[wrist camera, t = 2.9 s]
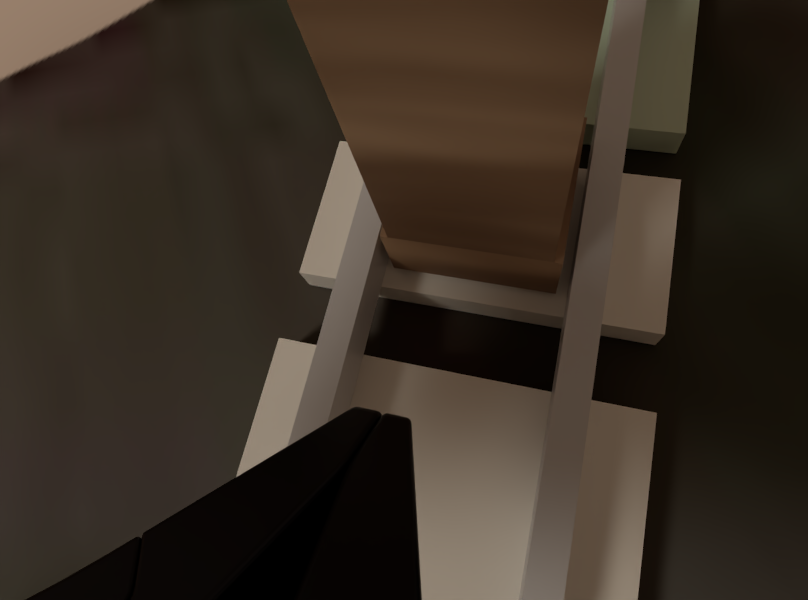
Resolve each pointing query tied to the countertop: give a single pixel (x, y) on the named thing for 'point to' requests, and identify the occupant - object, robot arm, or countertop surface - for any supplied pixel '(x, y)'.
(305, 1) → the slider
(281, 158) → the countertop surface
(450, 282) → the track
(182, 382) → the countertop surface
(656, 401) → the countertop surface
